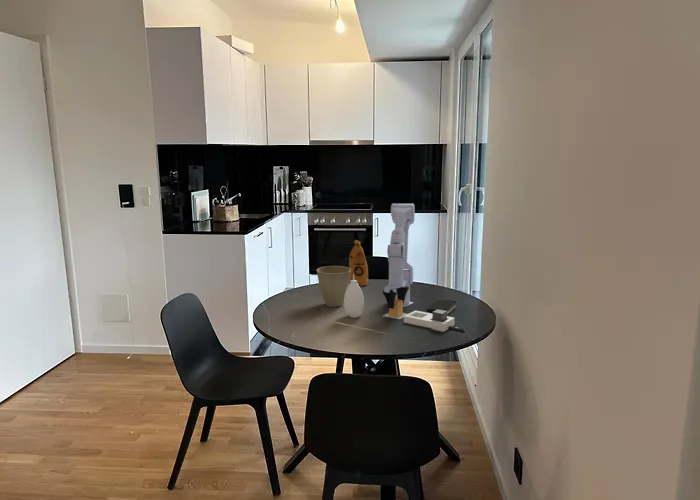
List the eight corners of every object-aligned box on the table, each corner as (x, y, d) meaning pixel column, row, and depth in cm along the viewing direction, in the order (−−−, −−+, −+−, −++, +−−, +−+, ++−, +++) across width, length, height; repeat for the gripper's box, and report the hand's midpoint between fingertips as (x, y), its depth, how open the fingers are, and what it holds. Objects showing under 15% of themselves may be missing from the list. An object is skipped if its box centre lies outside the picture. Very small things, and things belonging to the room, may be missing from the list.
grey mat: (382, 316, 208) (382, 315, 208) (392, 312, 214) (392, 310, 214) (399, 320, 203) (399, 319, 203) (409, 315, 209) (409, 314, 209)
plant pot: (311, 307, 222) (310, 271, 219) (326, 299, 236) (325, 265, 233) (343, 311, 217) (343, 274, 214) (356, 301, 230) (356, 267, 227)
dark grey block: (432, 327, 195) (432, 311, 194) (437, 324, 198) (437, 309, 197) (441, 329, 192) (442, 313, 191) (446, 326, 195) (446, 311, 194)
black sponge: (445, 319, 205) (445, 310, 204) (425, 316, 209) (425, 307, 208) (457, 308, 219) (457, 300, 219) (438, 306, 223) (438, 297, 223)
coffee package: (349, 286, 258) (348, 243, 254) (348, 281, 270) (347, 239, 266) (368, 286, 258) (368, 243, 254) (367, 280, 270) (367, 239, 266)
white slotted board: (403, 323, 199) (403, 316, 199) (415, 317, 206) (415, 310, 206) (458, 334, 186) (459, 326, 185) (469, 328, 193) (469, 320, 192)
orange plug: (389, 315, 208) (389, 301, 207) (394, 312, 211) (394, 298, 210) (397, 317, 206) (397, 302, 205) (402, 314, 209) (402, 300, 208)
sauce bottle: (354, 313, 213) (353, 271, 210) (367, 317, 208) (367, 273, 204) (340, 317, 208) (339, 274, 205) (354, 321, 202) (353, 277, 199)
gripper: (395, 277, 197) (395, 311, 200) (413, 271, 209) (413, 303, 211) (379, 275, 202) (379, 309, 204) (398, 269, 213) (398, 300, 215)
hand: (396, 306), depth 208 cm, fingers open, 7 cm apart
